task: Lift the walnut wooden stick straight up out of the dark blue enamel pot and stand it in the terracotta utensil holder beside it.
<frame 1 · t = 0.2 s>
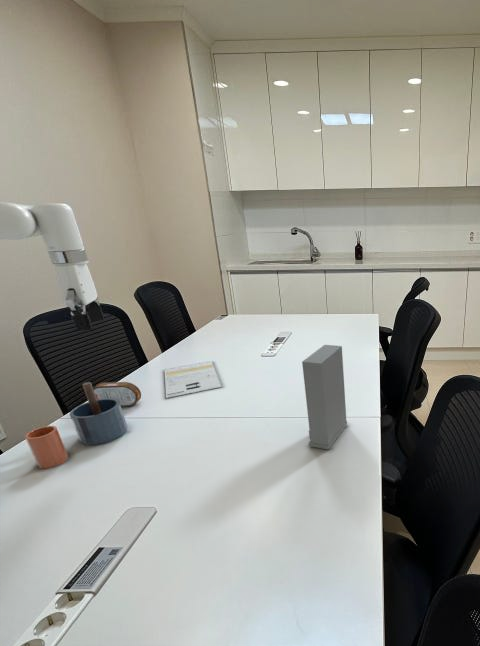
hand: (91, 324, 103), 33 cm above the table, tool pointing down, fingers open, 9 cm apart
pot: (104, 434, 115), on the table
stick: (104, 432, 114), point 1 cm above the table, touching pot
holder: (53, 461, 103), on the table
cassette tape recorder: (328, 436, 111), on the table
tin: (119, 406, 132), on the table
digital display: (191, 378, 152), on the table
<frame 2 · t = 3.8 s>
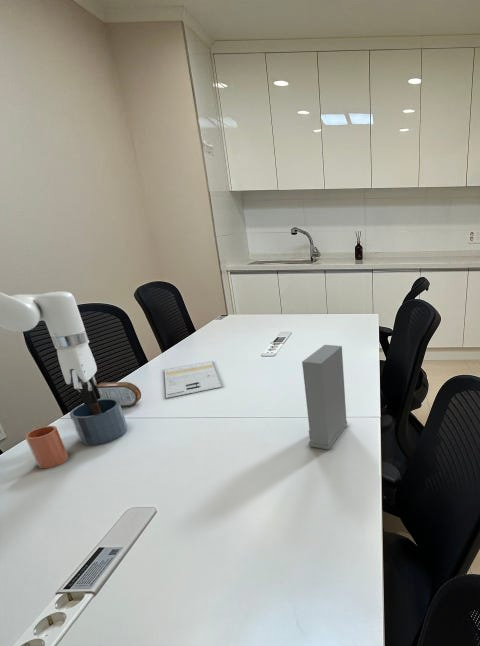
hand: (92, 400, 110), 11 cm above the table, tool pointing down, fingers closed on stick, 2 cm apart
stick: (104, 432, 115), point 1 cm above the table, touching gripper
everything else where it was.
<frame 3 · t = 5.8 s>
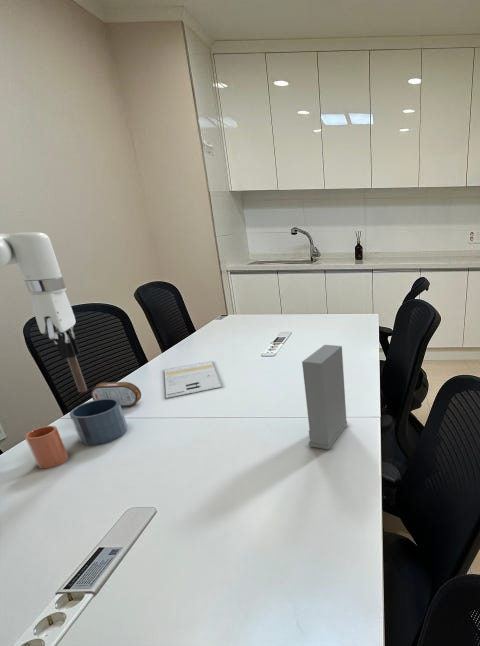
hand: (70, 355, 103), 25 cm above the table, tool pointing down, fingers closed on stick
stick: (83, 390, 108), point 15 cm above the table, touching gripper
everything else where it was.
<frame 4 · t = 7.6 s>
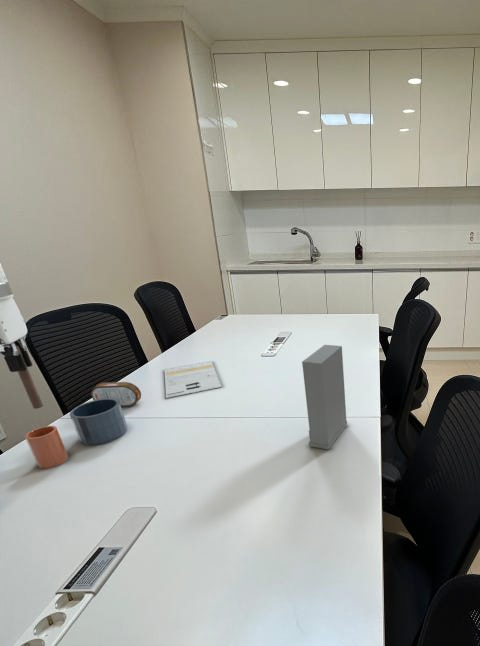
hand: (21, 368, 93), 26 cm above the table, tool pointing down, fingers closed on stick
stick: (38, 406, 98), point 15 cm above the table, touching gripper
everything else where it was.
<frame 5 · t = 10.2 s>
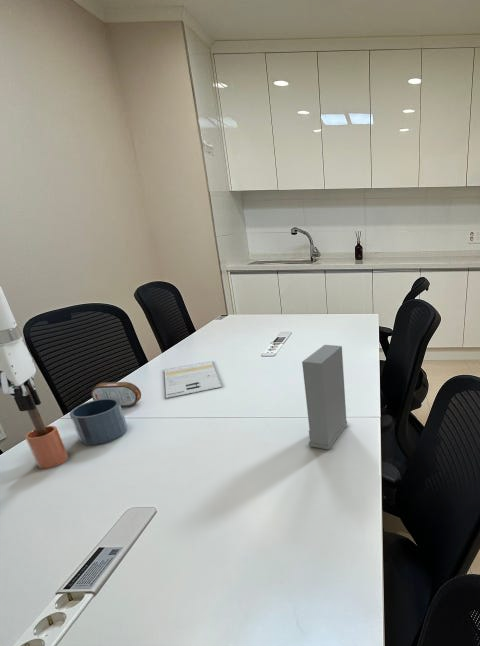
hand: (30, 407, 96), 16 cm above the table, tool pointing down, fingers closed on stick
stick: (46, 442, 101), point 6 cm above the table, touching gripper
everything else where it was.
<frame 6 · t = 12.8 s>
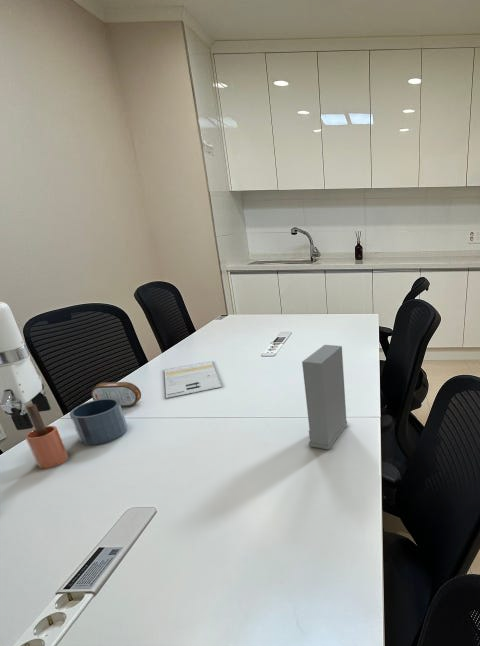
hand: (35, 419, 98), 13 cm above the table, tool pointing down, fingers open, 9 cm apart
stick: (53, 459, 103), point 1 cm above the table, touching holder
everything else where it was.
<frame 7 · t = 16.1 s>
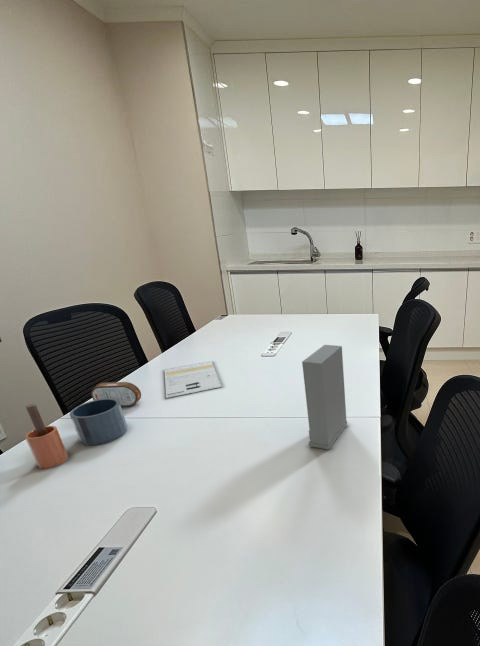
nothing on the table moved.
at the end: stick 0.2 cm off-centre in the holder, point 0.6 cm above the holder's base; the gripper is holding nothing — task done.
